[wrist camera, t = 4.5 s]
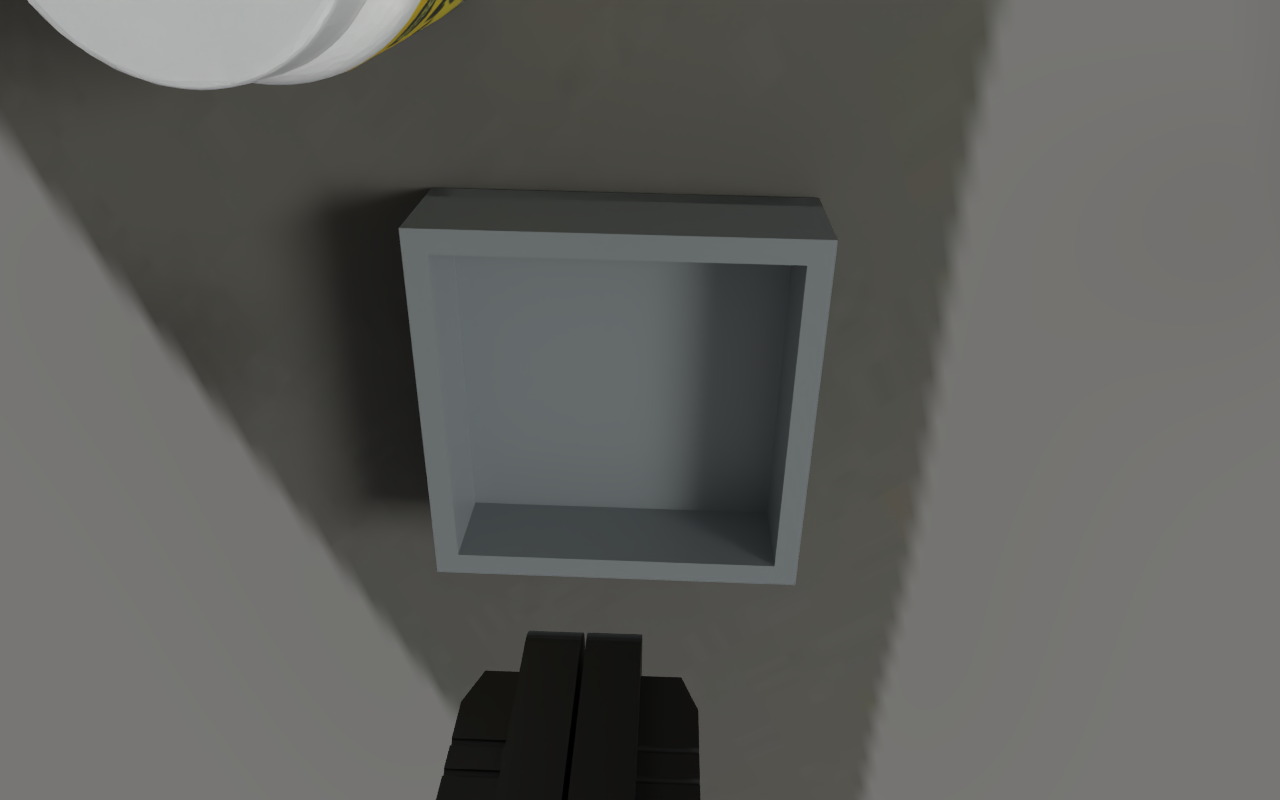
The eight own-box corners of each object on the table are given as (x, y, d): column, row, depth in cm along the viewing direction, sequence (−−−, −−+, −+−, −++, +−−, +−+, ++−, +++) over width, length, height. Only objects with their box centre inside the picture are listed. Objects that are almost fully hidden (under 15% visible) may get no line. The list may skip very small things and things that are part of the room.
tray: (431, 187, 19) (398, 228, 17) (818, 197, 19) (838, 240, 17) (461, 504, 23) (437, 571, 21) (783, 515, 23) (795, 584, 21)
